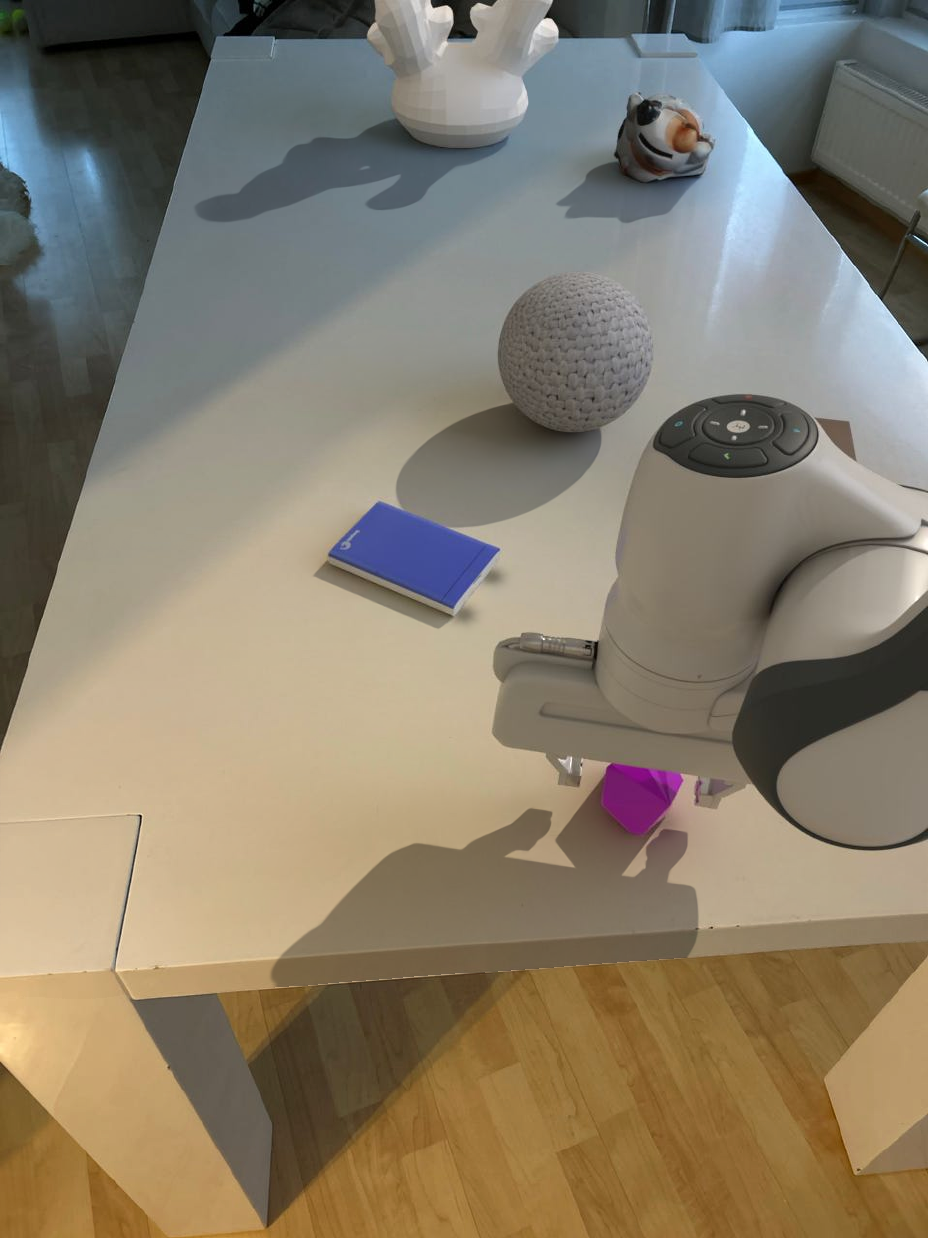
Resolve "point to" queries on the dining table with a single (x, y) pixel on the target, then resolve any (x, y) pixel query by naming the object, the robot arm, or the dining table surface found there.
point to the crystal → (639, 795)
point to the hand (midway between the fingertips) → (636, 788)
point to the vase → (461, 67)
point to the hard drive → (415, 557)
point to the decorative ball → (575, 351)
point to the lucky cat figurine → (662, 139)
